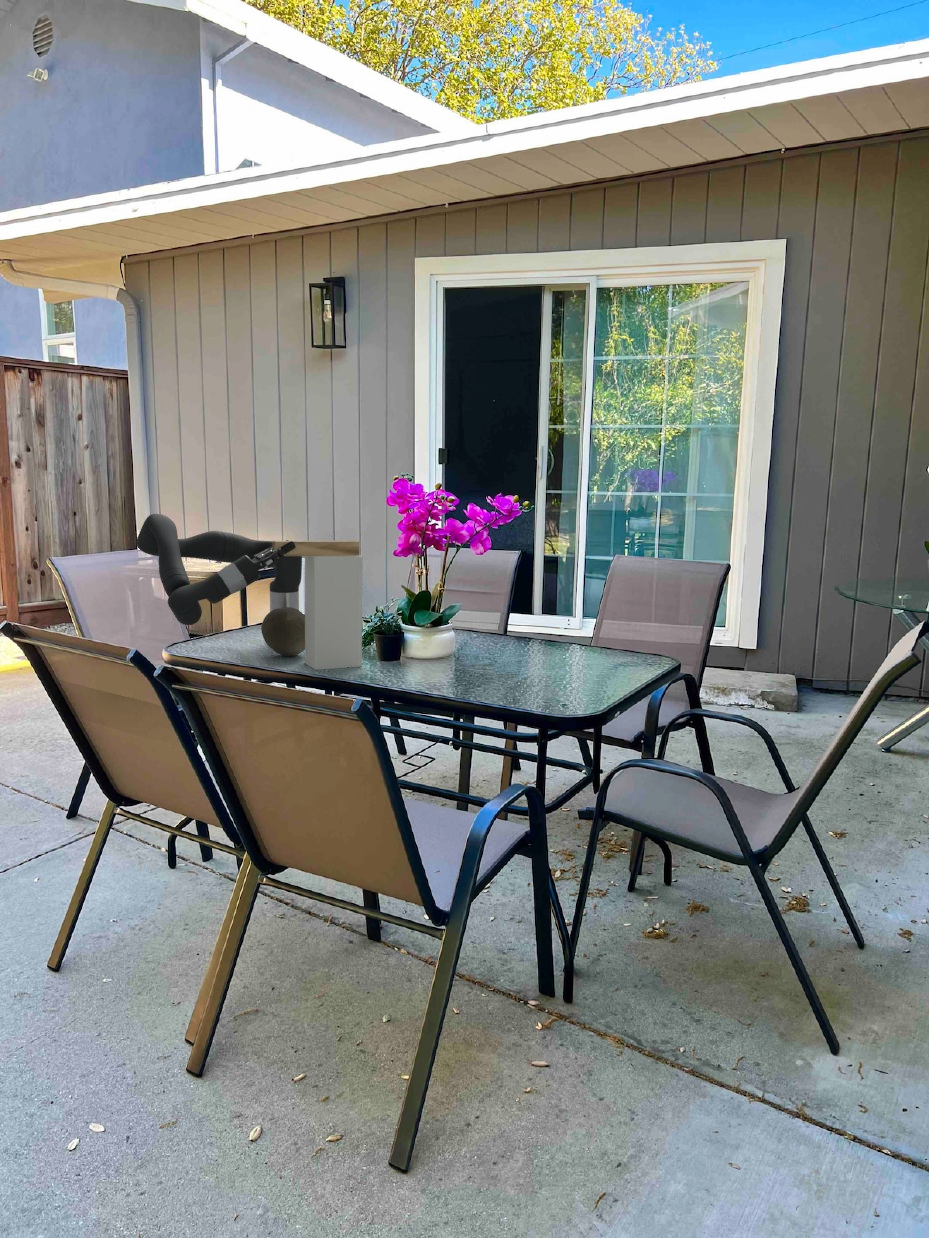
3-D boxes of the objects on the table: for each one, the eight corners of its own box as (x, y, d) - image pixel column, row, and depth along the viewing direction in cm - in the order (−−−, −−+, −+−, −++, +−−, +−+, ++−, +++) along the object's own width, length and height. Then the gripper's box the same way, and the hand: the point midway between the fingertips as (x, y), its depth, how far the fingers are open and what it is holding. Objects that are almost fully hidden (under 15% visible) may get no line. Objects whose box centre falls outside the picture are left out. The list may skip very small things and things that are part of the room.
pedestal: (305, 663, 257) (304, 553, 252) (350, 659, 263) (351, 553, 258) (314, 669, 248) (314, 556, 243) (361, 666, 254) (362, 556, 249)
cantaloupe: (296, 650, 276) (296, 603, 274) (318, 658, 265) (318, 608, 262) (254, 654, 267) (254, 605, 265) (275, 662, 256) (274, 612, 254)
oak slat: (272, 555, 245) (272, 540, 245) (354, 554, 255) (354, 540, 255) (276, 556, 242) (276, 541, 241) (359, 555, 252) (359, 541, 251)
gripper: (240, 583, 247) (292, 552, 253) (251, 589, 235) (305, 557, 240) (226, 561, 245) (279, 530, 250) (236, 565, 232) (291, 533, 237)
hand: (291, 543), depth 245 cm, fingers closed on oak slat, 4 cm apart
